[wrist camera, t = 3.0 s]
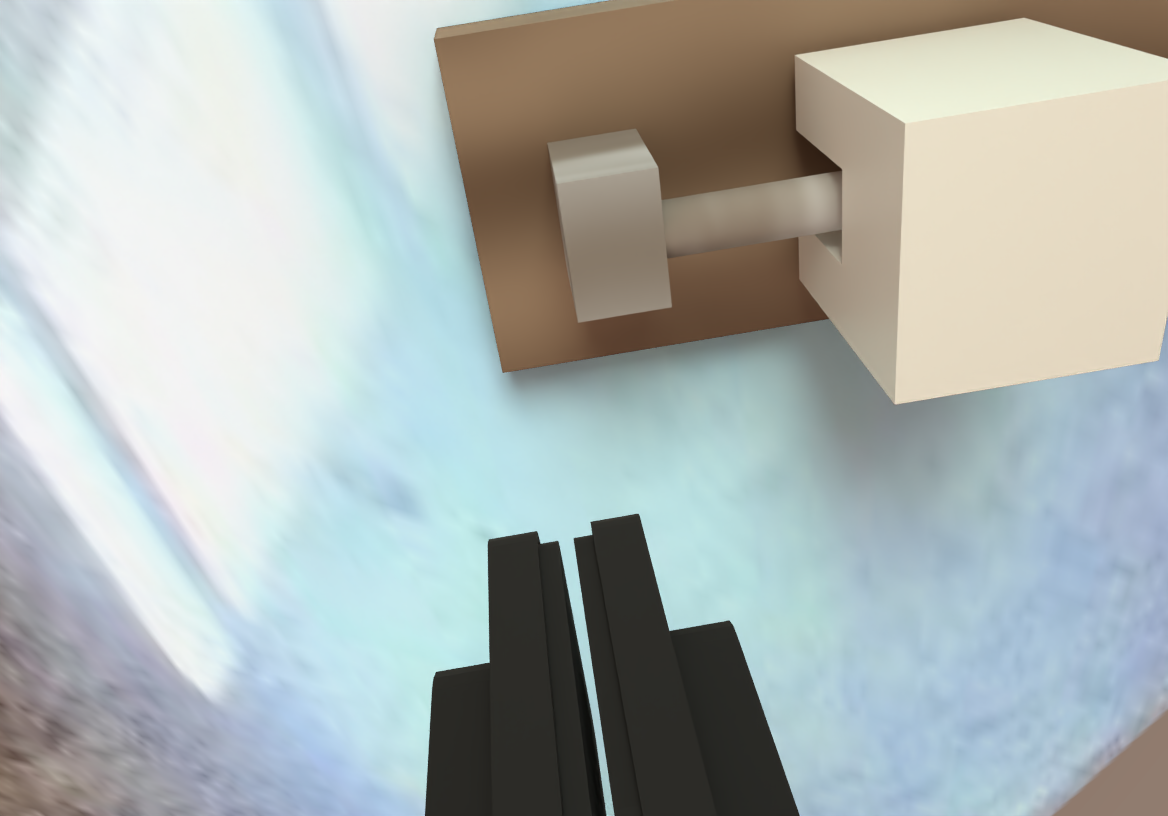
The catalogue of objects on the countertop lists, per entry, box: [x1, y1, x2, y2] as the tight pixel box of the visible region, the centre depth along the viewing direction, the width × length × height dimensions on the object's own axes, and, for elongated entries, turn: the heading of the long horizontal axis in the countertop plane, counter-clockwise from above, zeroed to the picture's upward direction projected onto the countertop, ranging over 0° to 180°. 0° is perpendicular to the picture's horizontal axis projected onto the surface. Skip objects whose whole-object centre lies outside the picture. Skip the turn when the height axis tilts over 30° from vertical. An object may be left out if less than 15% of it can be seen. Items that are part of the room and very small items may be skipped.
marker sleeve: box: [795, 18, 1168, 405], centre depth 19 cm, size 5×5×6 cm
